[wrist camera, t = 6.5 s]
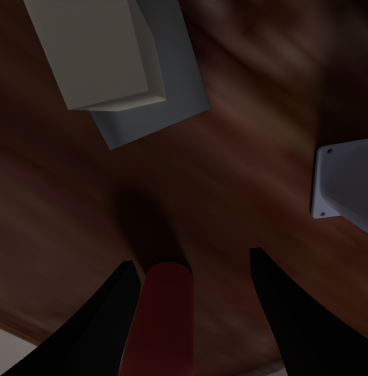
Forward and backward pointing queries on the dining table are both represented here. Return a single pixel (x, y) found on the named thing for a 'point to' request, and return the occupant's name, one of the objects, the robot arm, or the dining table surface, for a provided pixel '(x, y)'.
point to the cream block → (99, 52)
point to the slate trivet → (172, 79)
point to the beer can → (163, 325)
